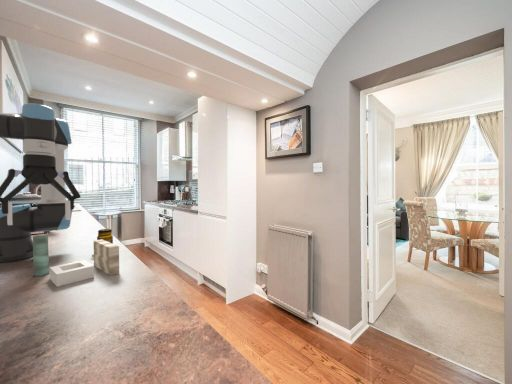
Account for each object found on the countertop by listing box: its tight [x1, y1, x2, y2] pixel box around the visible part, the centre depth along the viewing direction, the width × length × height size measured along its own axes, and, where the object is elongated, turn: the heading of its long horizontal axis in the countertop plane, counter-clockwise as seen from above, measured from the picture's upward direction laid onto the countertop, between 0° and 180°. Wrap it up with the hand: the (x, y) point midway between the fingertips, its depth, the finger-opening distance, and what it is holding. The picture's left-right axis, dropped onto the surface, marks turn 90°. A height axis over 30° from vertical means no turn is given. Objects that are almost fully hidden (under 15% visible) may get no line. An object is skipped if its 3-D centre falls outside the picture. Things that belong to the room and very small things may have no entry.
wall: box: [93, 239, 120, 277], centre depth 88 cm, size 17×3×10 cm, turn 51°
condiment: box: [90, 228, 114, 260], centre depth 105 cm, size 7×8×12 cm
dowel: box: [32, 234, 50, 277], centre depth 83 cm, size 4×4×14 cm
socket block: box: [49, 259, 95, 288], centre depth 79 cm, size 10×10×4 cm
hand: (41, 222), depth 73 cm, fingers open, 13 cm apart
